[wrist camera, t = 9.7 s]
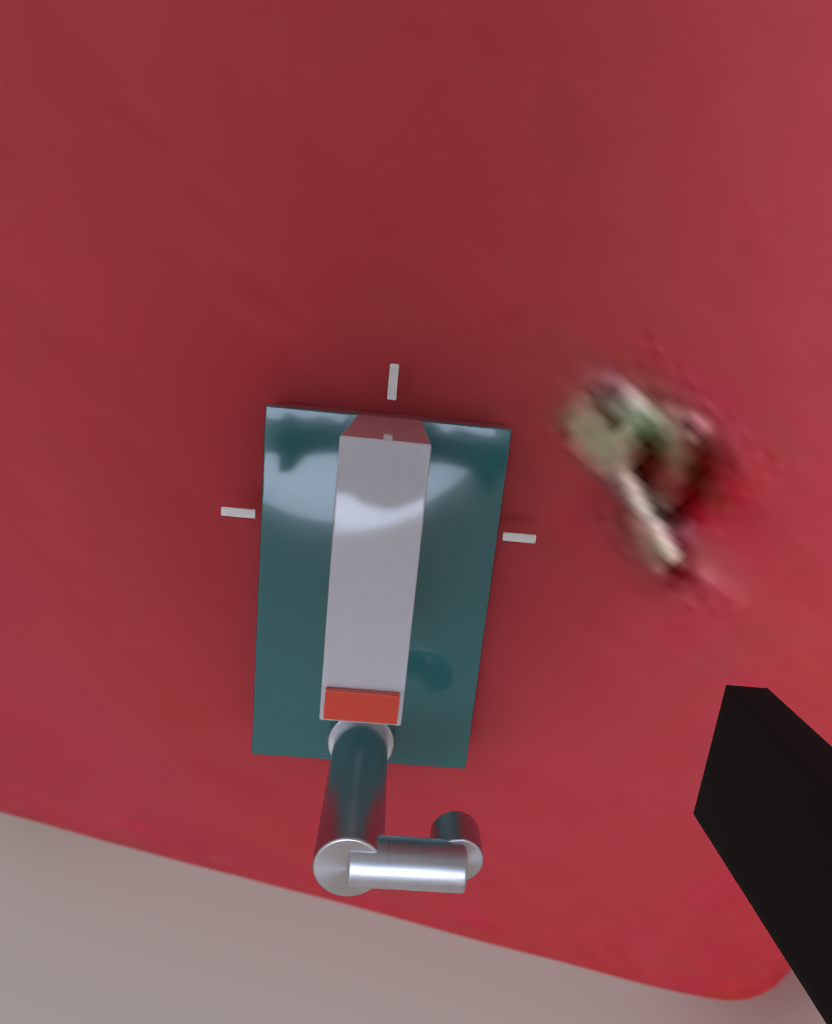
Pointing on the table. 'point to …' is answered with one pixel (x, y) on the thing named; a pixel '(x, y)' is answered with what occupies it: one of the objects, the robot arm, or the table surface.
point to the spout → (383, 826)
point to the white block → (374, 568)
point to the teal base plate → (439, 589)
